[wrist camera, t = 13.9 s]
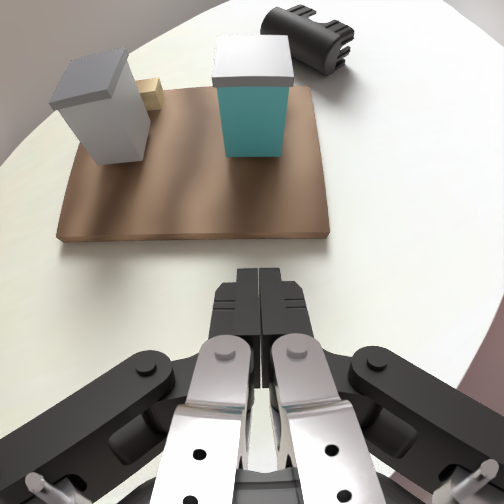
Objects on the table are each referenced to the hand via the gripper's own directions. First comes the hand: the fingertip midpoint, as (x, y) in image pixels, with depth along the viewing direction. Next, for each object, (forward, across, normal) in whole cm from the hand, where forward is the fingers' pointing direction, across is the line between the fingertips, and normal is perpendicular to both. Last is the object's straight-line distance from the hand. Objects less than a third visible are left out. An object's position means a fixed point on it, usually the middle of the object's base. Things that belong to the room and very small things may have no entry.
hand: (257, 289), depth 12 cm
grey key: (+21, +13, -3) cm, 25 cm away
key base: (+22, +6, -1) cm, 23 cm away
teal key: (+21, 0, -3) cm, 21 cm away
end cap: (+35, -7, -13) cm, 38 cm away
